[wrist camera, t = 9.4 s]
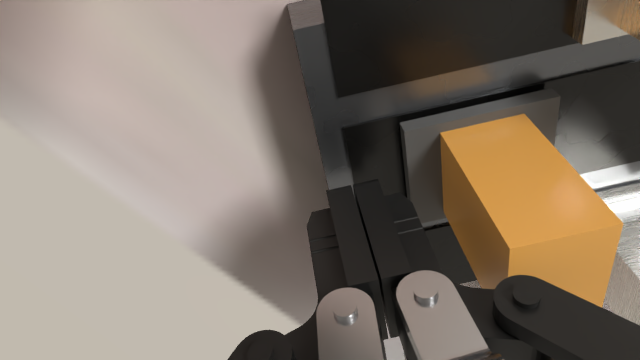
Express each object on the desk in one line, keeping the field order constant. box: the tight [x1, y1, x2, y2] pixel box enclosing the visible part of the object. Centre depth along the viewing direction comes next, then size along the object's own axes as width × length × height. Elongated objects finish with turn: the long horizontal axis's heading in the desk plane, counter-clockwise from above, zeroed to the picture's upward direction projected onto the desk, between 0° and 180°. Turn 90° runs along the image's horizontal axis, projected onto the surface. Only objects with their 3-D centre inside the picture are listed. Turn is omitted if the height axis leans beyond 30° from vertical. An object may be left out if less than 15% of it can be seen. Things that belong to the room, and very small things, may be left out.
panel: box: [287, 0, 640, 325], centre depth 15 cm, size 12×12×6 cm
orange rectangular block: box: [400, 88, 624, 308], centre depth 13 cm, size 4×4×5 cm
